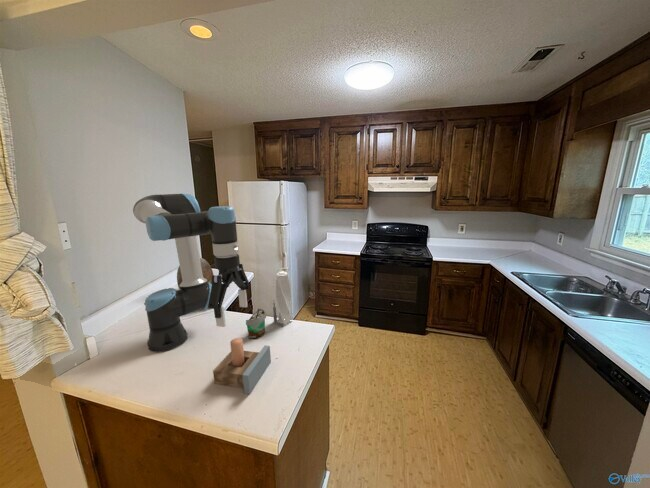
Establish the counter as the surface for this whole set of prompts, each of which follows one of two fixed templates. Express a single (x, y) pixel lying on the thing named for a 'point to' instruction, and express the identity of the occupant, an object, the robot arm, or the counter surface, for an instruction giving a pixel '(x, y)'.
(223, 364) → the block
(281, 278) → the skyscraper
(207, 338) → the counter surface
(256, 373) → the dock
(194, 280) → the robot arm
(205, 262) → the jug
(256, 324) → the food container
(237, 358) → the dowel
